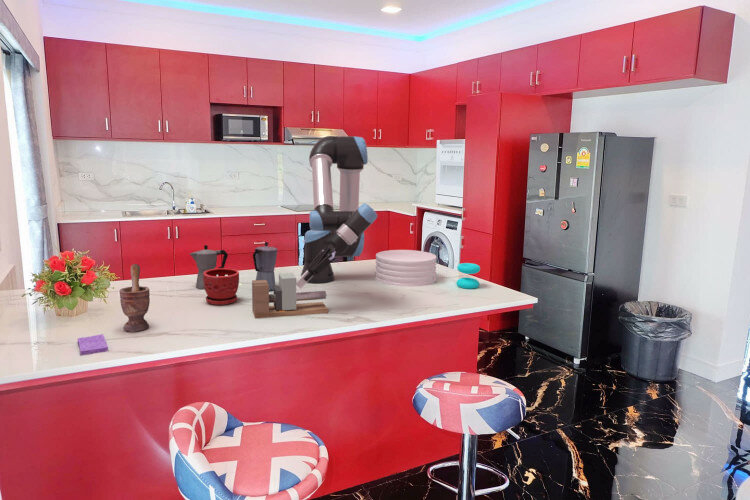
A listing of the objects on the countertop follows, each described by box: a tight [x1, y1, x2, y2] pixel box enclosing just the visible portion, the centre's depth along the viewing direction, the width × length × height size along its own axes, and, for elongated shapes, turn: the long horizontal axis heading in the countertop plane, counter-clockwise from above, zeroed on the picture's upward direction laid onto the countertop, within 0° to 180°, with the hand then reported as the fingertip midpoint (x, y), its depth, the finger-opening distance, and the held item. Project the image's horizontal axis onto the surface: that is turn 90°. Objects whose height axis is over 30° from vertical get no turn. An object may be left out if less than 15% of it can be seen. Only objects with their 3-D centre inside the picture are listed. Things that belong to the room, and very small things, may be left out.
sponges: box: [77, 333, 109, 356], centre depth 152 cm, size 7×13×2 cm, turn 33°
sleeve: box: [278, 272, 297, 310], centre depth 187 cm, size 8×5×12 cm, turn 18°
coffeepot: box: [189, 244, 229, 290], centre depth 220 cm, size 15×9×18 cm, turn 113°
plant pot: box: [203, 267, 240, 306], centre depth 198 cm, size 13×13×12 cm
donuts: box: [456, 262, 481, 290], centre depth 231 cm, size 10×10×10 cm
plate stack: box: [375, 249, 437, 287], centre depth 242 cm, size 28×28×12 cm
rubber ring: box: [273, 285, 282, 310], centre depth 187 cm, size 7×2×7 cm, turn 18°
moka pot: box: [252, 241, 279, 292], centre depth 217 cm, size 10×15×20 cm, turn 161°
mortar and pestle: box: [119, 263, 151, 333], centre depth 167 cm, size 12×9×20 cm
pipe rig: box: [251, 279, 329, 319], centre depth 188 cm, size 9×26×12 cm, turn 108°
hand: (297, 286), depth 188 cm, fingers closed
